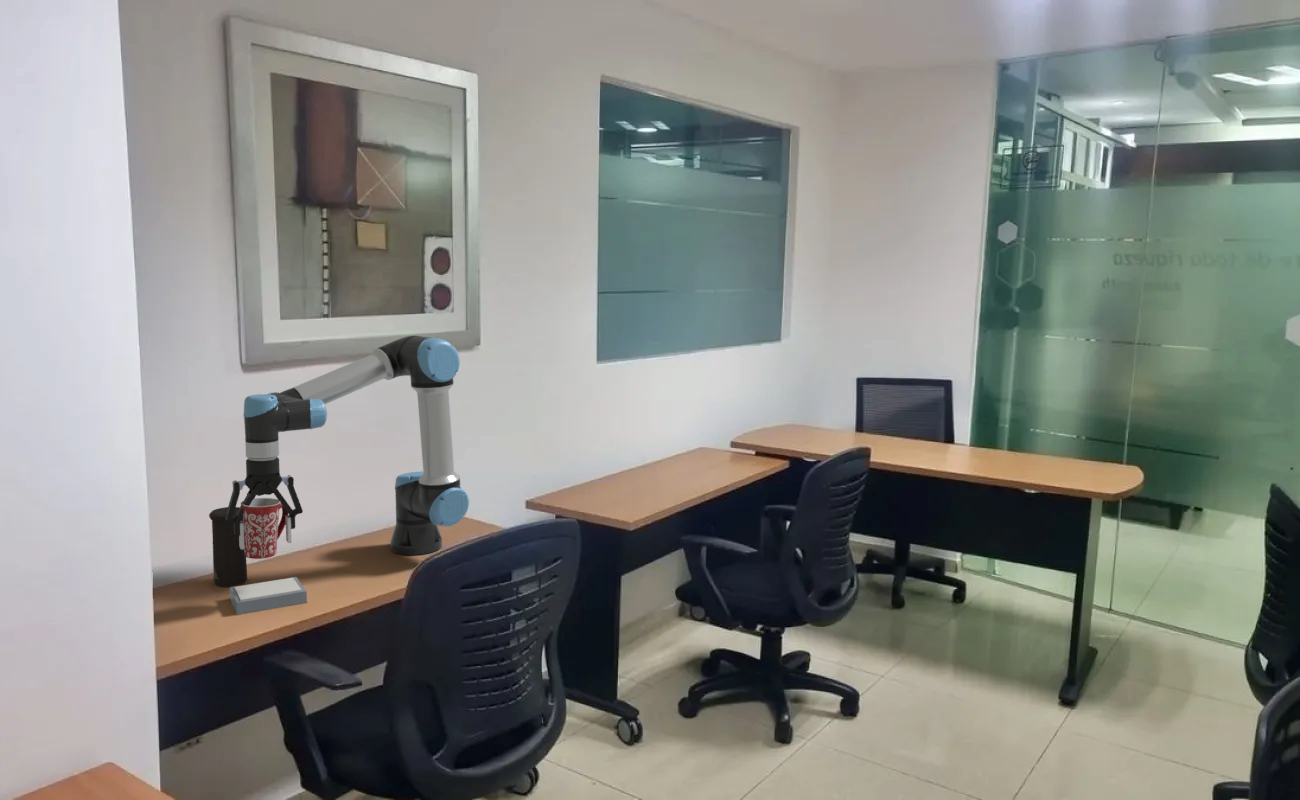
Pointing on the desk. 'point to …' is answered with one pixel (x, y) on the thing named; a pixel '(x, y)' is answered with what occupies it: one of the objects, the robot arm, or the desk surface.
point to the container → (227, 551)
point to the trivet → (267, 595)
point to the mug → (262, 527)
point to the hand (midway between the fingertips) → (265, 544)
